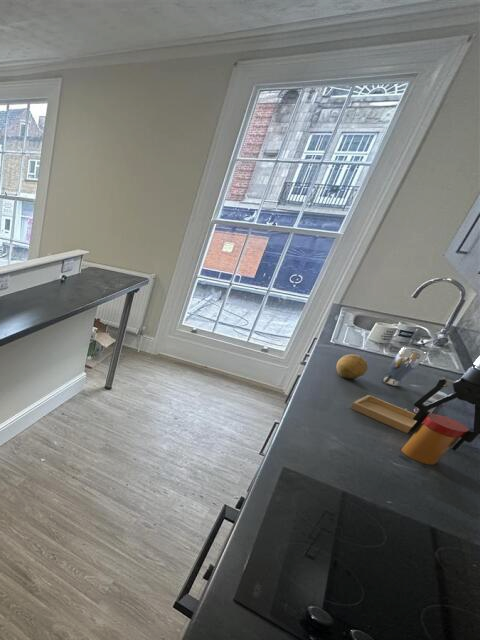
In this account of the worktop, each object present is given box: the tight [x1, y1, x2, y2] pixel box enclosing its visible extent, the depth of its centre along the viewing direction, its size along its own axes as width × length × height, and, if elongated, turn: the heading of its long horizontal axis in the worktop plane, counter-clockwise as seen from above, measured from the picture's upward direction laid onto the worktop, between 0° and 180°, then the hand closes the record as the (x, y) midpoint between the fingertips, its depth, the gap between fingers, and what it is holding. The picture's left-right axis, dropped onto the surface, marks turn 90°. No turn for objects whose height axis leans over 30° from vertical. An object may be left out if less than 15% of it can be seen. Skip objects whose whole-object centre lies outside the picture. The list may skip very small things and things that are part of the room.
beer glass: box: [380, 346, 426, 387], centre depth 158 cm, size 7×7×15 cm
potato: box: [335, 353, 369, 379], centre depth 162 cm, size 10×13×9 cm
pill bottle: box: [413, 390, 449, 415], centre depth 140 cm, size 5×5×9 cm
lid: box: [422, 414, 470, 439], centre depth 113 cm, size 8×8×2 cm
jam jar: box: [401, 422, 460, 466], centre depth 116 cm, size 8×8×12 cm
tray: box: [349, 394, 417, 434], centre depth 138 cm, size 16×14×2 cm
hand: (432, 439), depth 116 cm, fingers closed on lid, 8 cm apart
